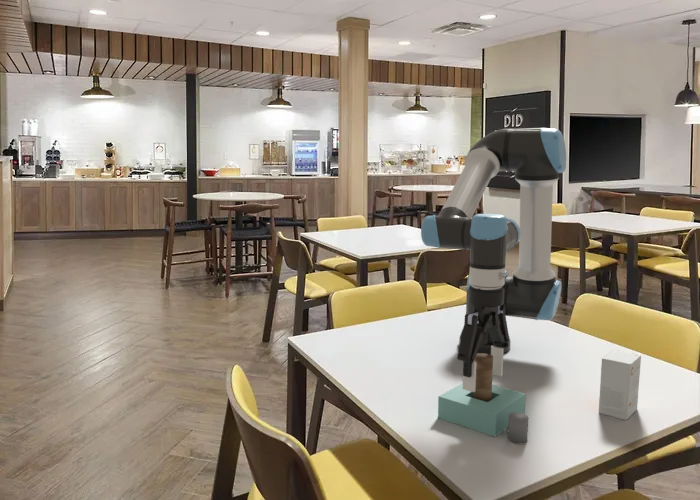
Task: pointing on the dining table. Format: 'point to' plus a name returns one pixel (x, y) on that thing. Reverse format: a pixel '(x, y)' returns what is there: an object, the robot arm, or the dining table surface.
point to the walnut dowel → (483, 377)
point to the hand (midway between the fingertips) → (483, 382)
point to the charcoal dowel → (518, 427)
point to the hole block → (481, 408)
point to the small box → (619, 384)
